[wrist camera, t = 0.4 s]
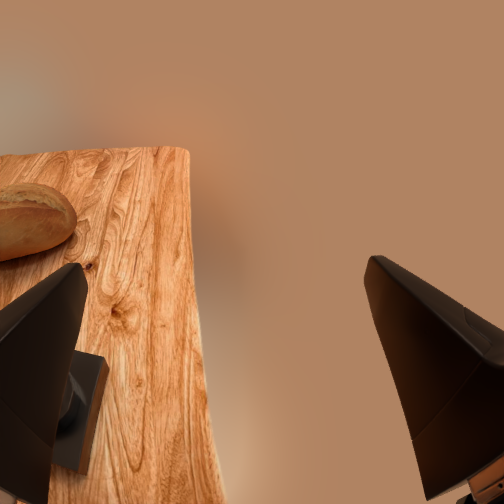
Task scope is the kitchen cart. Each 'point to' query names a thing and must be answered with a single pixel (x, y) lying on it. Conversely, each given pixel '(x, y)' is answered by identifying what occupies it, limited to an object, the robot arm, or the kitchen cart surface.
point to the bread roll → (33, 219)
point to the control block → (79, 411)
